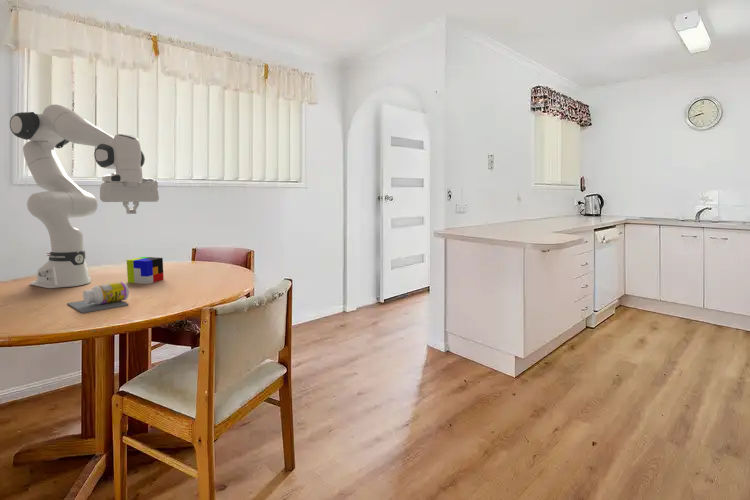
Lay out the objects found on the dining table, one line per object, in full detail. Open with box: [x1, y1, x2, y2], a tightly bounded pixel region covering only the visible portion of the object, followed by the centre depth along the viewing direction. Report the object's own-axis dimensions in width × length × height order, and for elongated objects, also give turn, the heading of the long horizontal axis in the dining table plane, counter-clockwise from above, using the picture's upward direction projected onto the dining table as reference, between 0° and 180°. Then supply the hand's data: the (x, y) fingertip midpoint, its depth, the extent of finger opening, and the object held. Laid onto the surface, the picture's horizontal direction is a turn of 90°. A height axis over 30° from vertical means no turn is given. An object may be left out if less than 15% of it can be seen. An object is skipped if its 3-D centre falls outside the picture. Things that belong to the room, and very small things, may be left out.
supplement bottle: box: [82, 281, 130, 305], centre depth 153 cm, size 7×7×13 cm
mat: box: [67, 300, 129, 314], centre depth 153 cm, size 14×16×1 cm
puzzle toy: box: [126, 256, 165, 285], centre depth 192 cm, size 10×10×10 cm
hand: (131, 213), depth 168 cm, fingers closed
